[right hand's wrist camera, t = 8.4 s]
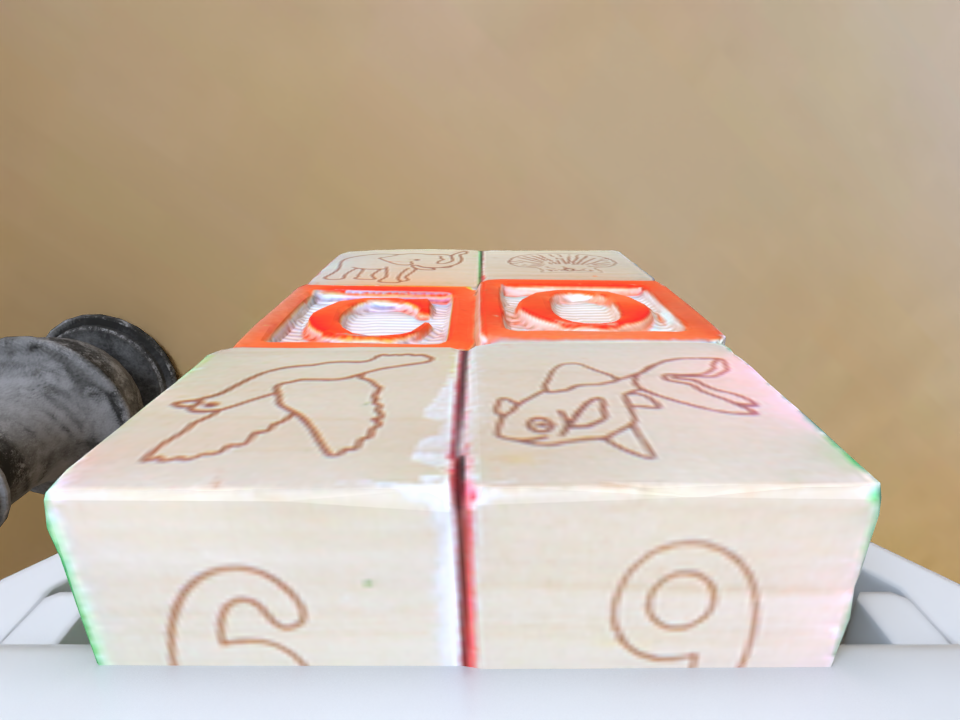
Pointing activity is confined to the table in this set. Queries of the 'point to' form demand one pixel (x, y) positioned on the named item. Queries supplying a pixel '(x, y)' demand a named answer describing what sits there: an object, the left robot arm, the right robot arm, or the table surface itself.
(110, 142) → the table surface
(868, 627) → the right robot arm
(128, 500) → the stack of blocks
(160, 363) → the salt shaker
